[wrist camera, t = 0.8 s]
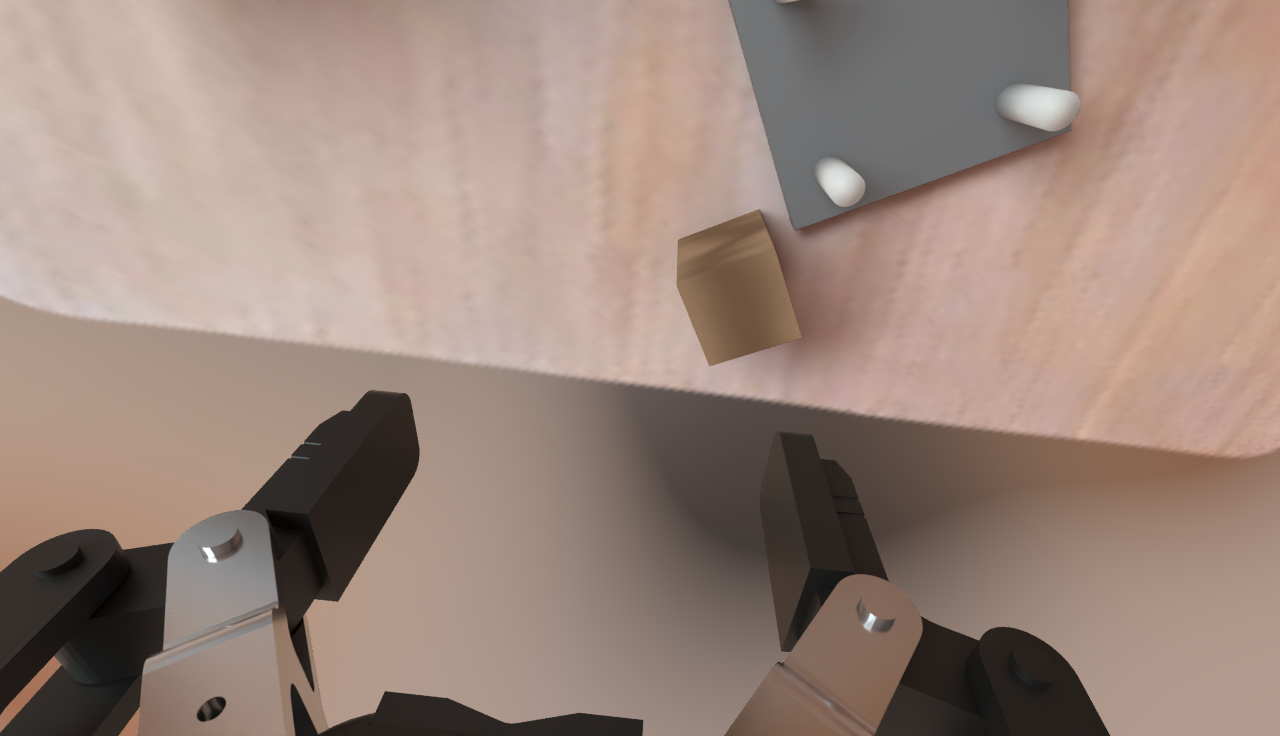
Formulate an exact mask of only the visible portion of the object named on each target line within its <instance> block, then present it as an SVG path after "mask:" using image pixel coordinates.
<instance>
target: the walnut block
mask: <svg viewBox="0 0 1280 736" xmlns="http://www.w3.org/2000/svg"><path fill="white" fill-rule="evenodd" d="M677 288H678V290H679V293H680V295H681V298H682V300H683V302H684V305H685V307H686V310H687V312H688V315H689V317H690V320H691V322H692V325H693V327H694V329H695V332H696V334H697V337H698V339H699V342H700V344H701V347H702V349H703V351H704V354H705V356H706V359H707V361H708V364H709V366H712V365H715V364H719V363H722V362H725V361H728V360H732V359H735V358H738V357H741V356H744V355H748V354H751V353H754V352H757V351H761V350H764V349H767V348H770V347H773V346H777V345H780V344H783V343H786V342H790V341H793V340H796V339H799V338H802V336H801V333H800V330H799V326H798V323H797V320H796V316H795V313H794V310H793V307H792V303H791V300H790V297H789V293H788V290H787V287H786V284H785V280H784V277H783V274H782V270H781V267H780V264H779V260H778V257H777V254H776V251H775V248H774V246H773V243H772V241H771V238H770V236H769V233H768V231H767V228H766V226H765V223H764V221H763V218H762V216H761V213H760V211H759V210H756V211H753V212H751V213H748V214H745V215H743V216H740V217H737V218H735V219H732V220H729V221H727V222H724V223H721V224H719V225H716V226H713V227H711V228H708V229H706V230H703V231H700V232H698V233H695V234H692V235H690V236H687V237H684V238H682V239H679V240H678V261H677Z"/></svg>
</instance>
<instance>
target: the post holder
mask: <svg viewBox="0 0 1280 736" xmlns="http://www.w3.org/2000/svg"><path fill="white" fill-rule="evenodd" d="M728 1H729V4H730V8H731V11H732V15H733V18H734V22H735V26H736V29H737V33H738V36H739V40H740V43H741V47H742V50H743V54H744V58H745V61H746V65H747V68H748V72H749V75H750V79H751V82H752V86H753V89H754V93H755V97H756V100H757V104H758V107H759V111H760V114H761V118H762V121H763V125H764V129H765V132H766V136H767V139H768V143H769V146H770V150H771V153H772V157H773V160H774V164H775V168H776V171H777V175H778V178H779V182H780V185H781V189H782V192H783V196H784V200H785V203H786V207H787V210H788V214H789V217H790V221H791V224H792V226H793V228H794V230H797V229H800V228H803V227H806V226H809V225H811V224H814V223H817V222H820V221H822V220H825V219H828V218H831V217H834V216H836V215H839V214H842V213H845V212H847V211H850V210H853V209H856V208H858V207H861V206H864V205H867V204H870V203H872V202H875V201H878V200H881V199H883V198H886V197H889V196H892V195H894V194H897V193H900V192H903V191H906V190H908V189H911V188H914V187H917V186H919V185H922V184H925V183H928V182H931V181H933V180H936V179H939V178H942V177H944V176H947V175H950V174H953V173H955V172H958V171H961V170H964V169H967V168H969V167H972V166H975V165H978V164H980V163H983V162H986V161H989V160H991V159H994V158H997V157H1000V156H1003V155H1005V154H1008V153H1011V152H1014V151H1016V150H1019V149H1022V148H1025V147H1028V146H1030V145H1033V144H1036V143H1039V142H1041V141H1044V140H1047V139H1050V138H1052V137H1055V136H1058V135H1061V134H1064V133H1066V132H1069V131H1071V122H1072V121H1073V120H1074V119H1075V118H1076V116H1077V114H1078V112H1079V109H1080V100H1079V97H1078V96H1077V95H1076V94H1075V93H1074V92H1071V91H1070V69H1069V32H1068V0H728Z"/></svg>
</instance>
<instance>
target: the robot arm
mask: <svg viewBox="0 0 1280 736" xmlns="http://www.w3.org/2000/svg"><path fill="white" fill-rule="evenodd" d="M419 453H420V452H419V444H418V437H417V432H416V427H415V421H414V416H413V410H412V405H411V400H410V398H409V396H408V395H407V394H405V393H396V392H385V391H376V390H371V391H368V392H367V393H366V394H365V395H364V396H363V397H362V398H361V399H360V400H359V402H358V403H357V404H356V405H355V406H354V407H353V409H352V410H351V411H341V412H339V413H338V414H336V415H334V416H333V417H331V418H329V419H328V420H326V421H324V422H323V423H321V424H319V426H318V427H317V428H316V429H315V430H314V431H313V432H312V433H311V434H310V435H309V436H308V438H307V439H306V440H305V441H304V445H302V444H301V445H300V446H299V447H298V448H297V450H296V451H295V452H294V453H293V454H292V457H291V459H289V458H288V459H287V460H286V461H285V463H284V464H283V465H282V466H281V467H280V468H279V469H278V470H277V471H276V472H275V473H274V475H273V476H272V477H271V478H270V479H269V480H268V481H267V482H266V483H265V484H264V485H263V487H262V488H261V489H260V490H259V491H258V492H257V493H256V494H255V495H254V496H253V497H252V499H251V500H250V501H249V502H248V503H247V504H246V505H245V506H244V507H243V508H242V509H241V510H235V511H229V512H224V513H220V514H217V515H215V516H212V517H209V518H207V519H205V520H203V521H201V522H199V523H197V524H196V525H194V526H192V527H191V528H190V529H188V530H187V531H186V532H184V533H183V534H182V535H181V536H180V537H179V538H178V539H177V540H176V542H174V543H167V544H161V545H153V546H147V547H140V548H133V549H126V550H123V549H122V548H121V546H120V544H119V543H118V541H117V540H116V538H115V537H114V535H113V534H111V533H110V532H108V531H105V530H100V529H85V530H78V531H74V532H69V533H66V534H63V535H60V536H57V537H54V538H52V539H49V540H47V541H45V542H43V543H40V544H39V545H37V546H35V547H33V548H31V549H30V550H28V551H27V552H25V553H24V554H22V555H21V556H19V557H18V558H17V559H16V560H14V561H13V562H12V563H11V564H10V565H8V566H7V567H6V568H5V569H4V570H2V571H1V572H0V715H1V713H2V712H3V711H4V709H5V708H6V707H7V706H8V704H9V703H10V702H11V701H12V700H13V699H14V698H15V697H16V695H18V694H19V693H20V691H21V690H22V689H23V688H24V687H25V686H26V685H27V684H28V683H29V682H30V681H31V680H32V679H33V677H34V676H35V675H36V674H37V673H38V672H39V671H40V670H41V669H42V668H43V667H44V666H45V665H46V664H47V663H48V661H49V660H50V659H51V658H52V657H53V656H55V657H56V659H57V660H58V661H59V662H60V664H61V665H62V666H60V668H59V669H58V670H57V671H56V672H55V673H54V674H53V675H52V676H51V678H49V680H48V681H47V682H46V683H45V684H44V685H43V686H42V687H41V689H40V690H39V691H38V692H37V693H36V694H35V695H34V696H33V697H32V698H31V699H30V701H29V702H28V703H27V704H26V705H25V706H24V707H23V708H22V709H21V710H20V712H19V713H18V714H17V715H16V716H15V717H14V718H13V719H12V720H11V721H10V723H9V724H8V725H7V726H6V727H5V728H4V729H3V730H2V731H1V732H0V736H118V735H119V734H120V733H121V731H122V730H123V729H124V727H125V726H126V725H127V723H128V722H129V720H130V719H131V718H132V717H133V715H134V714H135V712H136V711H137V710H138V708H139V707H140V709H139V722H138V734H137V736H642V732H643V720H639V719H638V720H637V719H630V718H621V717H611V716H603V715H593V714H585V713H576V714H570V715H564V716H558V717H552V718H546V719H540V720H534V721H527V722H521V723H514V724H510V723H504V722H502V721H499V720H497V719H494V718H492V717H490V716H488V715H485V714H483V713H481V712H478V711H476V710H474V709H471V708H469V707H467V706H464V705H462V704H460V703H458V702H455V701H453V700H451V699H448V698H441V697H431V696H423V695H414V694H404V693H396V692H387V691H385V693H384V695H383V697H382V699H381V702H380V704H379V706H378V708H377V710H376V712H375V713H372V714H368V715H364V716H361V717H357V718H354V719H350V720H348V721H345V722H343V723H341V724H339V725H336V726H333V727H332V728H328V725H327V721H326V718H325V715H324V711H323V707H322V702H321V697H320V691H319V685H318V679H317V673H316V667H315V661H314V655H313V649H312V644H311V638H310V632H309V626H308V621H307V618H306V615H305V613H306V611H307V610H308V608H309V607H310V605H311V603H312V602H313V600H314V599H318V600H328V601H337V602H338V601H339V599H340V597H341V596H342V594H343V592H344V591H345V589H346V587H347V586H348V584H349V582H350V581H351V579H352V577H353V576H354V574H355V573H356V571H357V569H358V567H359V566H360V564H361V563H362V561H363V559H364V557H365V556H366V554H367V553H368V551H369V549H370V548H371V546H372V544H373V543H374V541H375V539H376V538H377V536H378V534H379V533H380V531H381V529H382V528H383V526H384V525H385V523H386V521H387V520H388V518H389V516H390V515H391V513H392V511H393V510H394V508H395V506H396V505H397V503H398V501H399V500H400V498H401V496H402V495H403V493H404V491H405V490H406V488H407V486H408V485H409V483H410V481H411V480H412V478H413V476H414V475H415V472H416V470H417V466H418V462H419ZM760 514H761V521H762V527H763V533H764V541H765V547H766V554H767V561H768V567H769V574H770V580H771V587H772V593H773V600H774V607H775V613H776V619H777V626H778V633H779V639H780V646H781V651H784V652H790V654H789V655H788V657H787V658H786V659H785V661H784V662H783V663H781V662H778V663H776V664H775V665H774V667H773V668H772V669H771V670H770V671H769V673H768V674H767V675H766V677H765V678H764V680H763V681H762V683H761V684H760V686H759V687H758V688H757V690H756V691H755V693H754V694H753V696H752V697H751V698H750V700H749V701H748V703H747V704H746V706H745V707H744V708H743V710H742V711H741V713H740V714H739V715H738V717H737V718H736V720H735V721H734V723H733V724H732V725H731V727H730V728H729V730H728V731H727V733H726V734H725V735H724V736H1110V735H1109V733H1108V731H1107V729H1106V727H1105V726H1104V723H1103V722H1102V720H1101V718H1100V716H1099V714H1098V712H1097V711H1096V709H1095V707H1094V705H1093V703H1092V701H1091V700H1090V698H1089V696H1088V694H1087V692H1086V690H1085V688H1084V687H1083V685H1082V683H1081V681H1080V679H1079V678H1078V676H1077V674H1076V673H1075V671H1074V669H1073V668H1072V667H1071V666H1070V664H1069V663H1068V662H1067V661H1066V660H1065V659H1064V658H1063V657H1062V656H1061V655H1060V654H1059V653H1058V652H1057V651H1056V650H1055V649H1053V648H1052V647H1051V646H1050V645H1048V644H1047V643H1045V642H1044V641H1042V640H1041V639H1039V638H1037V637H1036V636H1034V635H1031V634H1029V633H1027V632H1024V631H1021V630H1019V629H1015V628H1010V627H996V628H993V629H990V630H988V631H987V632H985V633H984V635H983V636H982V637H981V639H980V640H976V639H973V638H971V637H968V636H966V635H963V634H960V633H958V632H955V631H952V630H950V629H947V628H944V627H942V626H939V625H937V624H935V623H933V622H930V621H928V620H927V619H925V618H923V617H921V616H920V614H919V612H918V610H917V608H916V606H915V605H914V603H913V602H912V601H911V599H910V598H909V597H908V596H907V595H906V594H905V593H904V592H903V591H901V590H900V589H899V588H897V587H896V586H894V585H893V584H892V583H890V582H889V580H888V578H887V575H886V573H885V570H884V567H883V564H882V562H881V559H880V556H879V553H878V551H877V548H876V545H875V542H874V540H873V537H872V534H871V531H870V529H869V526H868V523H867V520H866V518H864V512H863V509H862V507H861V504H860V502H858V496H857V493H856V490H855V487H854V485H853V482H852V479H851V478H850V476H849V475H848V474H847V473H846V472H845V471H844V470H843V469H842V467H841V466H840V465H839V464H838V463H837V462H836V461H835V460H825V459H820V457H819V454H818V450H817V447H816V444H815V441H814V438H813V436H812V435H811V434H803V433H792V432H782V431H776V432H775V434H774V436H773V439H772V443H771V447H770V451H769V456H768V459H767V463H766V467H765V471H764V475H763V480H762V483H761V490H760Z"/></svg>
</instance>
